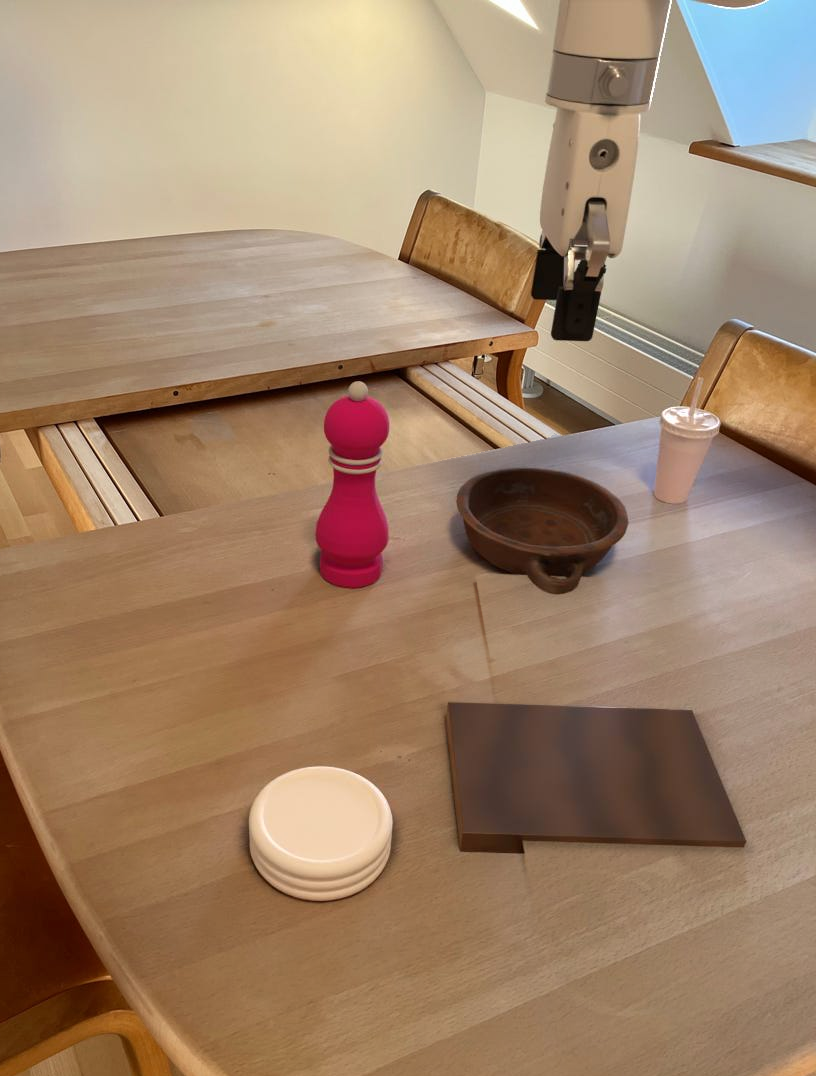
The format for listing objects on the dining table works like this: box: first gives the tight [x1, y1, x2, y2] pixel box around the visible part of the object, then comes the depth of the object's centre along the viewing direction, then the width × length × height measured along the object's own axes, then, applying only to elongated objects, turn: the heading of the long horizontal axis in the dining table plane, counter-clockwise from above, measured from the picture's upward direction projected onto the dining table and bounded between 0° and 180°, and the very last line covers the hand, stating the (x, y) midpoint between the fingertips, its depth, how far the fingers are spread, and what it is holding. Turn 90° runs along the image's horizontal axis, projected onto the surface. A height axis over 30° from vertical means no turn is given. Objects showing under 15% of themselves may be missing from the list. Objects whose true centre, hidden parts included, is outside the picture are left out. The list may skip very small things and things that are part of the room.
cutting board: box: [445, 701, 747, 854], centre depth 74 cm, size 20×14×2 cm
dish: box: [455, 466, 629, 595], centre depth 101 cm, size 17×22×5 cm
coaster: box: [248, 765, 394, 902], centre depth 68 cm, size 10×10×4 cm
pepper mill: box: [314, 380, 390, 589], centre depth 92 cm, size 7×7×20 cm
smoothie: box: [653, 377, 722, 505], centre depth 108 cm, size 6×6×14 cm
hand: (559, 318), depth 80 cm, fingers open, 9 cm apart
